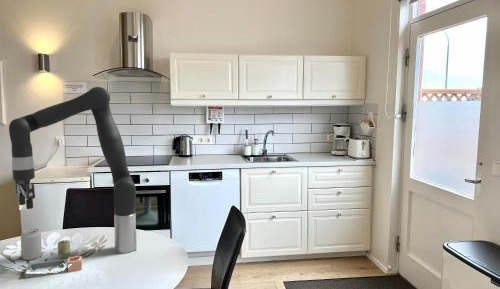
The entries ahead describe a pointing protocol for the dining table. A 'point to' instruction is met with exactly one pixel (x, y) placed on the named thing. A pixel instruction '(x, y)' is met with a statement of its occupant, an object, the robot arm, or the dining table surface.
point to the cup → (75, 263)
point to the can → (31, 244)
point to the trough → (45, 264)
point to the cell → (63, 249)
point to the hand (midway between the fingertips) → (26, 206)
